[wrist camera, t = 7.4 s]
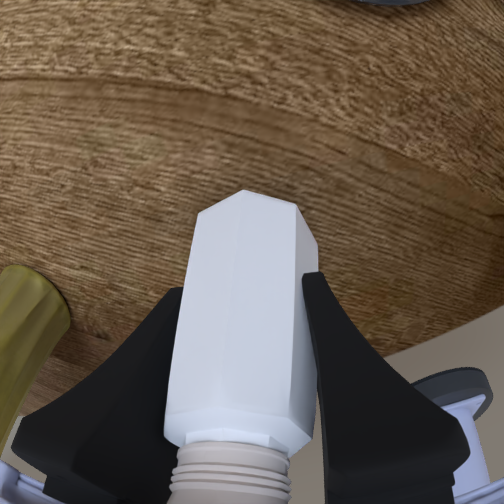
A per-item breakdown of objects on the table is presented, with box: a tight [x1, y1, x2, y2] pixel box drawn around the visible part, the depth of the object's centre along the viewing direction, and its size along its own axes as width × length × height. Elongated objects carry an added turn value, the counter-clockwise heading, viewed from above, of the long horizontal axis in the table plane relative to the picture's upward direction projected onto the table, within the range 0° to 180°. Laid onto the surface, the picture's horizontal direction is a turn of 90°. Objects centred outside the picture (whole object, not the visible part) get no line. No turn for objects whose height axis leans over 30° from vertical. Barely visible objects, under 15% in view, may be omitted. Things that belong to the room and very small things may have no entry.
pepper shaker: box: [164, 190, 318, 504], centre depth 9 cm, size 5×5×11 cm
